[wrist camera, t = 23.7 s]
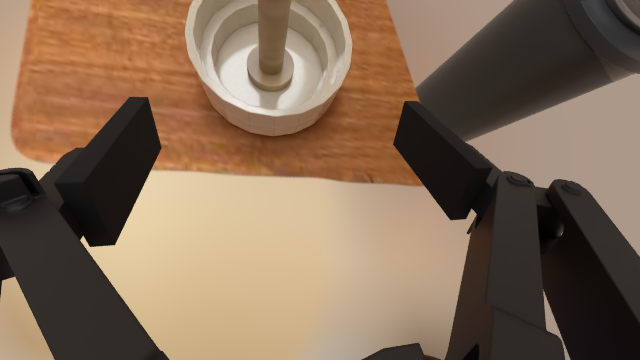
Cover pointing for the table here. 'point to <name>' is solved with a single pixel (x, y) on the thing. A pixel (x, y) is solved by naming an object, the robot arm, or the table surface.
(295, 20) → the bowl
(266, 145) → the table surface
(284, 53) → the pestle
